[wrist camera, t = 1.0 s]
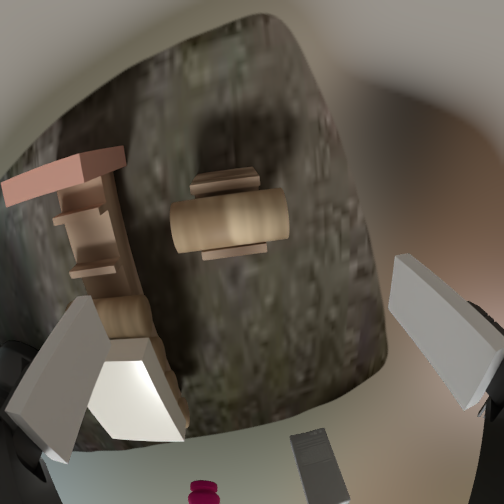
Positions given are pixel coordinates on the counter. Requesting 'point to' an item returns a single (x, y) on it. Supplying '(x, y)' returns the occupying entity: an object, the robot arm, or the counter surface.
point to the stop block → (63, 174)
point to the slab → (136, 395)
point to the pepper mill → (203, 493)
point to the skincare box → (318, 468)
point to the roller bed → (110, 267)
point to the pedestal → (223, 185)
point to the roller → (229, 220)
